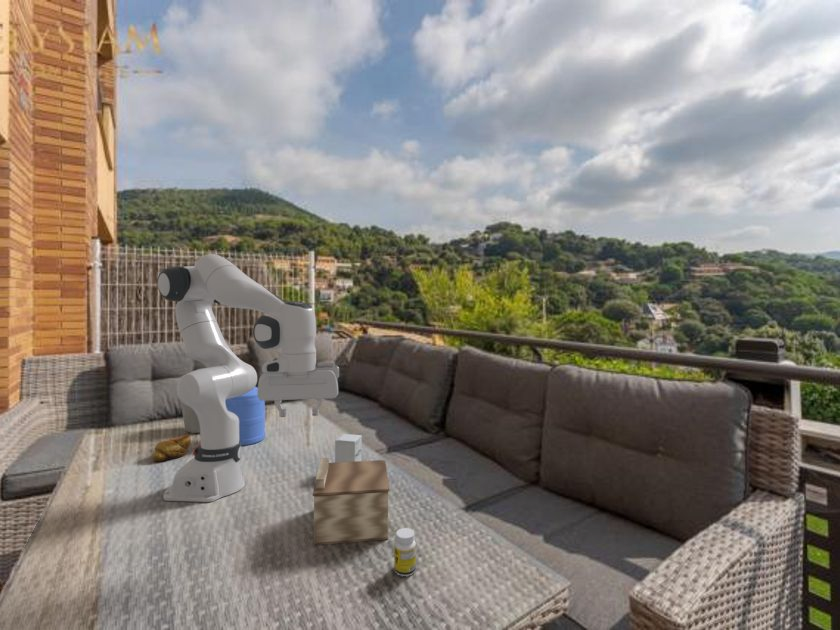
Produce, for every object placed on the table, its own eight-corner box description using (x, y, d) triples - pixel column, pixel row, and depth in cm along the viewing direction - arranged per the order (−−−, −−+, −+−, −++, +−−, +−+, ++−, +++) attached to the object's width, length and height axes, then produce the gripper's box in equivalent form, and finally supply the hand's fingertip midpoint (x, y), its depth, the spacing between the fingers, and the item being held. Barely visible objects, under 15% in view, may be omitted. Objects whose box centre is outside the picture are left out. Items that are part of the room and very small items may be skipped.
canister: (197, 423, 195) (197, 380, 194) (231, 425, 192) (231, 381, 192) (169, 435, 177) (169, 388, 176) (206, 437, 174) (206, 389, 174)
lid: (312, 496, 96) (312, 483, 96) (320, 465, 114) (320, 455, 114) (389, 491, 99) (389, 479, 99) (385, 462, 117) (385, 451, 117)
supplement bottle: (394, 563, 90) (394, 527, 90) (414, 562, 90) (415, 526, 90) (394, 578, 85) (394, 539, 85) (416, 577, 86) (416, 538, 85)
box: (313, 545, 96) (314, 496, 96) (321, 507, 114) (321, 466, 114) (387, 539, 99) (388, 491, 99) (383, 503, 117) (384, 463, 117)
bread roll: (156, 465, 144) (156, 443, 143) (145, 459, 149) (145, 438, 149) (193, 454, 154) (193, 434, 154) (181, 449, 160) (181, 429, 159)
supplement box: (354, 478, 134) (354, 441, 133) (334, 476, 135) (334, 440, 135) (362, 470, 141) (362, 434, 141) (342, 468, 142) (342, 433, 142)
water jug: (272, 438, 173) (272, 374, 173) (239, 449, 160) (239, 380, 160) (250, 432, 182) (250, 371, 181) (217, 441, 169) (217, 376, 168)
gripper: (339, 360, 109) (340, 411, 109) (261, 362, 105) (262, 414, 106) (338, 364, 102) (338, 417, 103) (255, 366, 99) (255, 420, 100)
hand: (299, 415), depth 104 cm, fingers open, 7 cm apart
